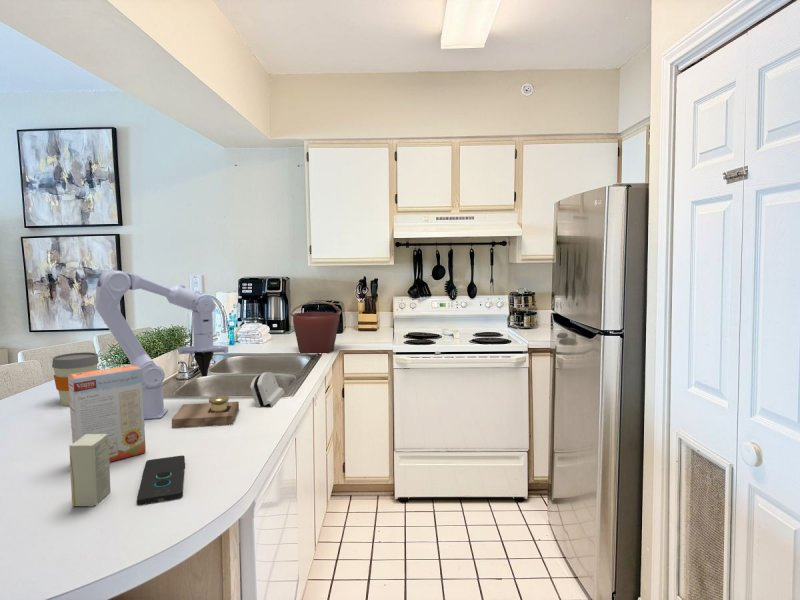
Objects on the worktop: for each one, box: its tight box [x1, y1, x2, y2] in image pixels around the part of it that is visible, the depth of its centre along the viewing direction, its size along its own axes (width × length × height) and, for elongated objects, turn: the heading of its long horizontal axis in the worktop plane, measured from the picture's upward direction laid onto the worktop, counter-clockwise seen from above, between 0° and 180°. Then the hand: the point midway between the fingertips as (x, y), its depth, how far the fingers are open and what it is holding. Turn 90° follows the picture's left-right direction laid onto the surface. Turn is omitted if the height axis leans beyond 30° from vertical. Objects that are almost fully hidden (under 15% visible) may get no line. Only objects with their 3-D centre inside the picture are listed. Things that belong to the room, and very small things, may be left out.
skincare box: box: [68, 434, 112, 507], centre depth 96 cm, size 6×4×12 cm
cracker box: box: [68, 364, 147, 463], centre depth 116 cm, size 14×6×21 cm, turn 134°
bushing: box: [208, 394, 230, 413], centre depth 146 cm, size 5×5×6 cm
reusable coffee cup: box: [51, 351, 99, 407], centre depth 161 cm, size 13×12×15 cm
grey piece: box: [250, 371, 285, 408], centre depth 164 cm, size 17×5×10 cm, turn 0°
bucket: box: [290, 300, 343, 354], centre depth 246 cm, size 24×22×25 cm
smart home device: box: [136, 455, 186, 506], centre depth 105 cm, size 8×2×20 cm
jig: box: [171, 401, 240, 429], centre depth 145 cm, size 16×14×2 cm
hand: (204, 375), depth 158 cm, fingers closed
